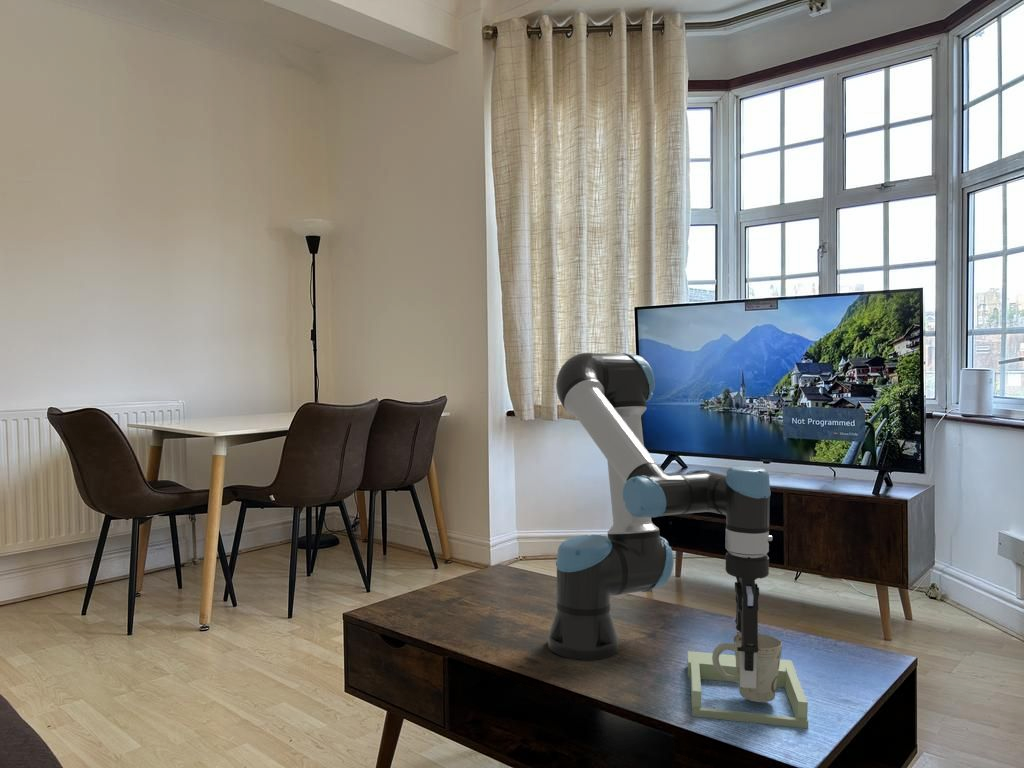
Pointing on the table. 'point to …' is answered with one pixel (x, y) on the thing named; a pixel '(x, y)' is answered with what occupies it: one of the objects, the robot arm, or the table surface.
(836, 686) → the table surface
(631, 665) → the table surface
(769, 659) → the mug
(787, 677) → the pale green rectangular frame
